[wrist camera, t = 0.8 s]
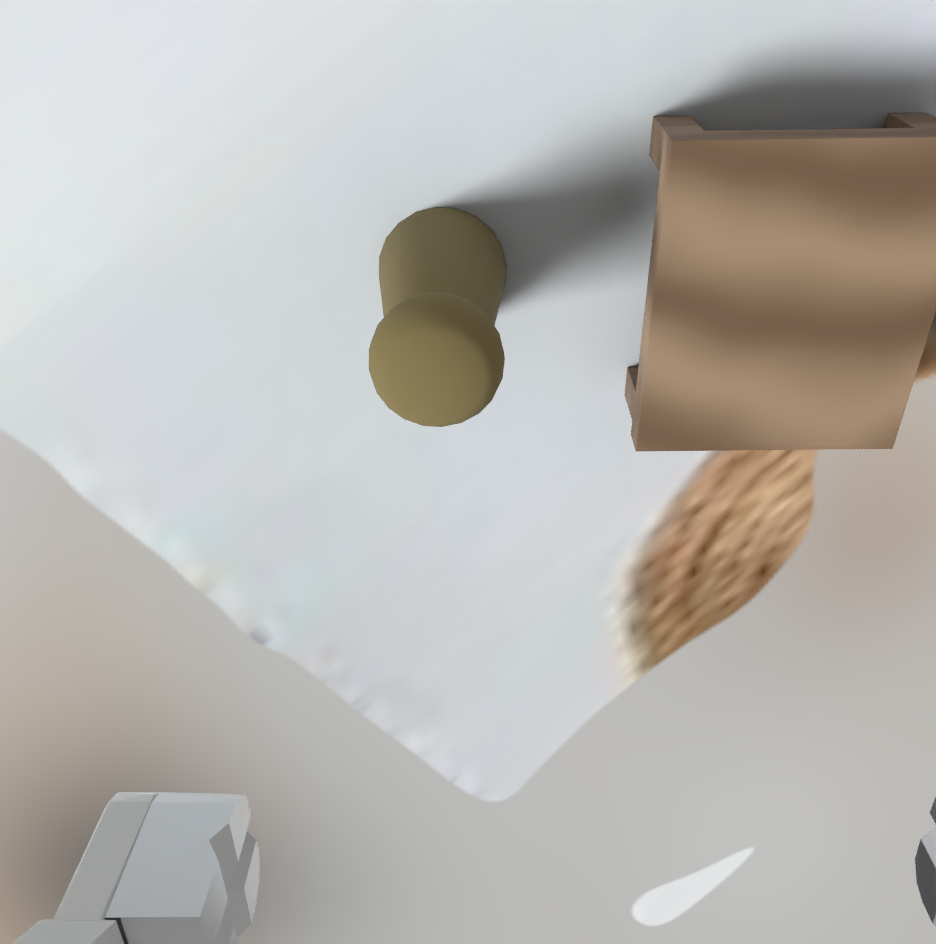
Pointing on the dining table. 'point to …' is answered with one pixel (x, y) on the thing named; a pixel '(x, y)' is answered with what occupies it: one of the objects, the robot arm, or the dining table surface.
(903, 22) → the dining table surface
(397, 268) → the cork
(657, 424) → the walnut stand
